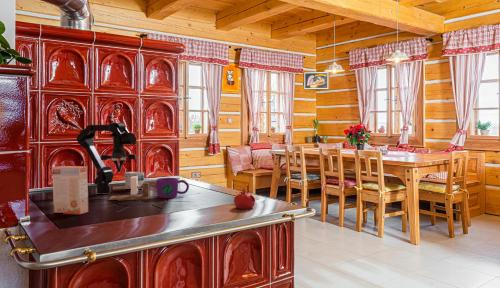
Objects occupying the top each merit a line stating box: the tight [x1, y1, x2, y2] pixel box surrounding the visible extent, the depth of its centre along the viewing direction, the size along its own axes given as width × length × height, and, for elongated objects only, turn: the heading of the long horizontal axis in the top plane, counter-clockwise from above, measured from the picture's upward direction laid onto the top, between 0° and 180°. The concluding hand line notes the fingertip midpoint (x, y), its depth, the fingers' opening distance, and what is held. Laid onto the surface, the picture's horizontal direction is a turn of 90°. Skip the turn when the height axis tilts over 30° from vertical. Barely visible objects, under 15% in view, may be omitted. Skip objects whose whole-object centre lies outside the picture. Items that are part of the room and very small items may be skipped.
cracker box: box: [51, 165, 89, 215], centre depth 175 cm, size 14×6×21 cm, turn 74°
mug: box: [156, 177, 190, 200], centre depth 214 cm, size 17×11×10 cm, turn 104°
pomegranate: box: [233, 187, 256, 210], centre depth 180 cm, size 10×10×9 cm
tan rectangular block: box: [130, 176, 139, 195], centre depth 211 cm, size 3×7×9 cm, turn 10°
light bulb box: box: [124, 171, 145, 189], centre depth 243 cm, size 11×7×11 cm, turn 58°
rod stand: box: [108, 181, 151, 201], centre depth 211 cm, size 20×10×8 cm, turn 100°
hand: (119, 172), depth 222 cm, fingers closed
